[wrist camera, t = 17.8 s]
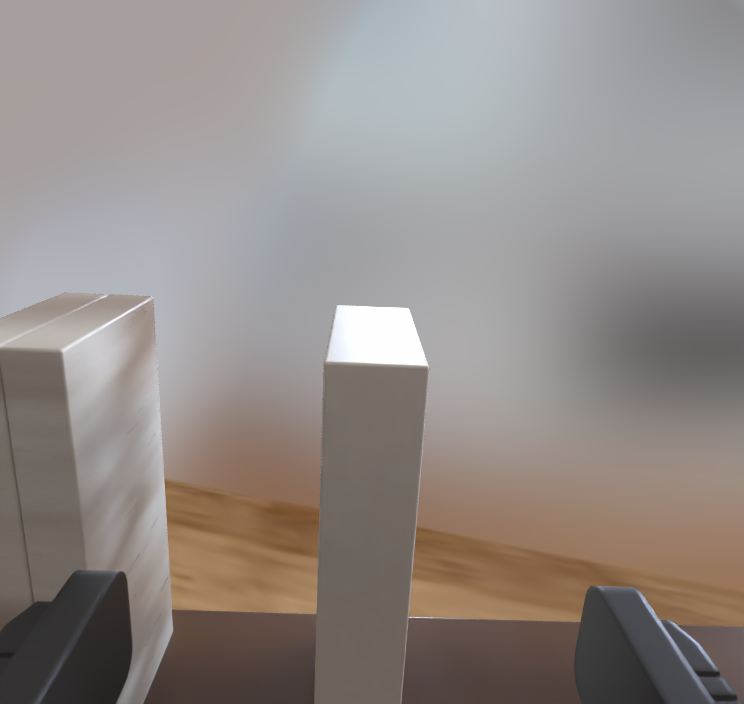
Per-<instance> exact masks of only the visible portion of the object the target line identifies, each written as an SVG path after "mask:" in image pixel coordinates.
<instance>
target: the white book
mask: <svg viewBox="0 0 744 704" xmlns="http://www.w3.org/2000/svg"><path fill="white" fill-rule="evenodd" d="M323 375H324V376H323V408H322V410H323V411H322V445H321V479H320V480H321V481H320V482H321V483H320V514H319V550H318V585H317V621H316V656H315V691H314V704H401V700H402V688H403V676H404V665H405V653H406V641H407V629H408V617H409V605H410V593H411V582H412V570H413V558H414V546H415V534H416V521H417V510H418V499H419V486H420V475H421V463H422V451H423V439H424V427H425V416H426V404H427V392H428V380H429V366H428V363H427V360H426V357H425V354H424V351H423V349H422V346H421V343H420V340H419V337H418V334H417V331H416V328H415V325H414V322H413V319H412V316H411V314H410V310H409V309H407V308H386V307H366V306H342V305H337V306H336V307H335V312H334V317H333V322H332V327H331V332H330V336H329V342H328V346H327V351H326V356H325V361H324V374H323Z"/></svg>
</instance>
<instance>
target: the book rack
mask: <svg viewBox="0 0 744 704" xmlns="http://www.w3.org/2000/svg"><path fill="white" fill-rule="evenodd" d="M153 303H154V302H153V297H151V296H133V295H108V296H106V295H104V294H86V293H84V294H83V293H62V294H60V295H58V296H55V297H53V298H50V299H48V300H45V301H42V302H40V303H37V304H35V305H32V306H30V307H28V308H25V309H23V310H20V311H17V312H15V313H12V314H10V315H7V316H5V317H2V318H0V631H1V630H2V629H3V627H4V626H5V625H6V624H7V623H8V622H10V621H11V620H13V619H14V618H15V617H17V616H18V615H19V614H21V613H22V612H23V611H25V610H26V609H27V608H29V607H30V606H31V605H33V604H34V603H36V602H37V601H45V602H52V601H53V599H54V598H55V597H56V595H57V594H58V592H59V591H60V590H61V588H62V587H63V585H64V584H65V583H66V581H67V580H68V579H69V577H70V576H71V575H72V573H74V572H75V571H77V570H105V571H123V572H124V573H125V574H126V577H127V582H128V593H129V605H130V617H131V629H132V640H133V650H132V659H131V665H130V669H129V673H128V677H127V680H126V683H125V685H124V687H123V690H122V692H121V694H120V696H119V698H118V700H117V703H116V704H314V691H315V656H316V621H317V614H297V613H264V612H231V611H198V610H172V603H171V586H170V569H169V553H168V536H167V519H166V502H165V486H164V469H163V452H162V436H161V419H160V404H159V403H160V402H159V386H158V368H157V352H156V335H155V318H154V304H153ZM580 623H581V622H560V621H527V620H494V619H461V618H428V617H408V629H407V641H406V653H405V665H404V676H403V688H402V700H401V704H582V701H581V699H580V696H579V694H578V690H577V686H576V681H575V675H574V655H575V649H576V644H577V639H578V633H579V628H580ZM677 626H679V627H680V628H681V629H682V630H683V631H685V632H686V633H687V634H688V635H690V636H691V637H692V638H693V639H694V640H696V641H697V642H698V643H699V644H700V645H701V646H702V648H703V649H704V650H705V652H706V653H707V655H708V656H709V657H710V659H711V660H712V661H713V663H714V664H715V666H716V667H717V668H718V670H719V671H720V676H721V678H725V679H726V681H727V682H728V683H729V685H730V686H731V688H732V689H733V690H734V692H735V693H736V695H737V699H738V701H739V702H742V703H743V704H744V627H725V626H692V625H677Z"/></svg>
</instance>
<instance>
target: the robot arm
mask: <svg viewBox="0 0 744 704" xmlns="http://www.w3.org/2000/svg"><path fill="white" fill-rule="evenodd" d="M132 650H133V640H132V629H131V617H130V605H129V593H128V582H127V577H126V574H125V573H124V572H123V571H105V570H77V571H75V572H74V573H72V575H71V576H70V577H69V579H68V580H67V581H66V583H65V584H64V585H63V587H62V588H61V590H60V591H59V592H58V594H57V595H56V597H55V598H54V599H53V601H52V602H45V601H37V602H36V603H34V604H33V605H31V606H30V607H29V608H27V609H26V610H25V611H23V612H22V613H21V614H19V615H18V616H17V617H15V618H14V619H13V620H11V621H10V622H8V623H7V624H6V625H5V626H4V627H3V629H2V630H1V631H0V704H116V703H117V700H118V698H119V696H120V694H121V692H122V690H123V687H124V685H125V683H126V680H127V677H128V673H129V669H130V665H131V659H132ZM574 675H575V681H576V686H577V690H578V694H579V696H580V699H581V701H582V704H743V703H742V702H739V701H738V699H737V695H736V693H735V692H734V690H733V689H732V688H731V686H730V685H729V683H728V682H727V681H726V679H725V678H721V676H720V671H719V670H718V668H717V667H716V666H715V664H714V663H713V661H712V660H711V659H710V657H709V656H708V655H707V653H706V652H705V650H704V649H703V648H702V646H701V645H700V644H699V643H698V642H697V641H696V640H694V639H693V638H692V637H691V636H690V635H688V634H687V633H686V632H685V631H683V630H682V629H681V628H680V627H679V626H677V625H676V624H675V623H674V622H673V621H671V620H659V618H658V617H657V615H656V614H655V612H654V611H653V609H652V608H651V606H650V605H649V603H648V602H647V601H646V599H645V598H644V596H643V595H642V593H641V592H640V591H639V590H638V589H636V588H634V587H605V586H592V587H590V588H589V589H588V591H587V593H586V597H585V602H584V607H583V612H582V618H581V623H580V628H579V633H578V639H577V644H576V649H575V655H574Z"/></svg>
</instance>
